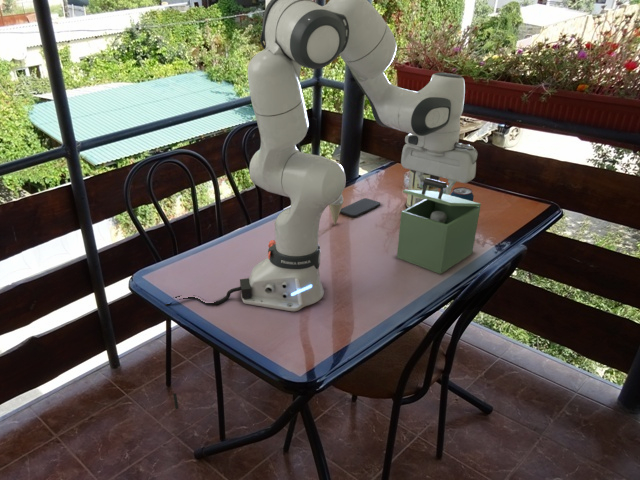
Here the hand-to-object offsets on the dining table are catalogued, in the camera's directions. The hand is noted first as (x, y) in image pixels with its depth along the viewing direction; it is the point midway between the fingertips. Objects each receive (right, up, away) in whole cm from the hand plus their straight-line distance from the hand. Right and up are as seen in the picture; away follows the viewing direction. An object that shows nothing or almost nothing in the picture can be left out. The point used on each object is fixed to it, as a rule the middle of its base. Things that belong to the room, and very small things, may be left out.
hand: (434, 190), depth 150 cm
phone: (-10, +2, +46) cm, 47 cm away
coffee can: (+11, +3, +45) cm, 46 cm away
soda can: (+18, -6, +30) cm, 35 cm away
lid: (+4, -2, +5) cm, 6 cm away
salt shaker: (+5, -16, +14) cm, 22 cm away
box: (+5, -16, +14) cm, 22 cm away
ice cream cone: (-21, -4, +37) cm, 42 cm away
